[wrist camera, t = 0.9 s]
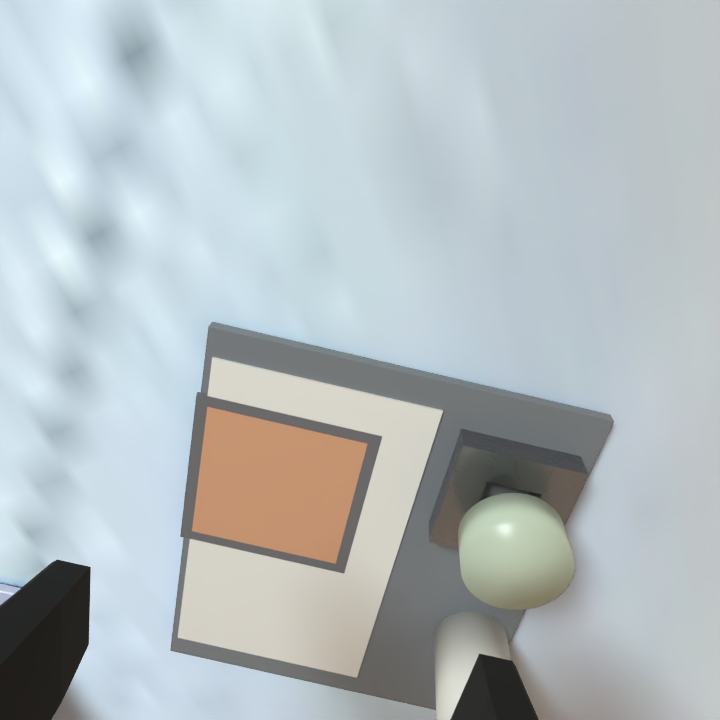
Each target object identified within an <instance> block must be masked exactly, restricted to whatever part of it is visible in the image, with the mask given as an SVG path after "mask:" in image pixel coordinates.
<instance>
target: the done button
mask: <svg viewBox="0 0 720 720" xmlns="http://www.w3.org/2000/svg"><path fill="white" fill-rule="evenodd" d="M458 545H459V557H460V568H461V576H462V579H463V582H464V584H465V585H466V587H467V589H468V590H469V591H470V592H471V593H472V594H473V595H474V596H475V597H476V598H478V599H479V600H481V601H483V602H485V603H486V604H489V605H491V606H494V607H498V608H502V609H510V610H523V609H530V608H535V607H538V606H542V605H544V604H546V603H549V602H551V601H552V600H554V599H556V598H557V597H558V596H560V595H561V594H562V593H563V592H564V591H565V590H566V589H567V587H568V586H569V584H570V583H571V581H572V579H573V576H574V572H575V560H574V556H573V553H572V550H571V547H570V544H569V541H568V537H567V534H566V531H565V528H564V525H563V522H562V519H561V517H560V515H559V514H558V513H557V511H556V510H555V509H554V508H553V507H552V506H551V505H549V504H548V503H547V502H545V501H543V500H541V499H539V498H537V497H535V496H531V495H527V494H522V493H504V494H498V495H494V496H491V497H488V498H486V499H484V500H482V501H480V502H478V503H477V504H475V505H474V506H473V507H471V508H470V509H469V510H468V511H467V513H466V514H465V515H464V517H463V518H462V520H461V522H460V525H459V528H458Z"/></svg>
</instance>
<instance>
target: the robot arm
mask: <svg viewBox="0 0 720 720" xmlns="http://www.w3.org/2000/svg"><path fill="white" fill-rule="evenodd" d="M89 606H90V567H88V566H83V565H79V564H74V563H70V562H65V561H61V560H56V561H54V562H52V563H51V564H50V565H48V566H47V567H46V568H45V569H44V570H42V571H41V572H40V573H39V574H38V575H36V576H35V577H34V578H33V579H32V580H30V581H29V582H28V583H27V584H26V585H24V586H23V587H22V588H18V587H14V586H9V585H5V584H0V720H51V719H52V717H53V716H54V714H55V712H56V710H57V709H58V707H59V705H60V704H61V702H62V700H63V698H64V696H65V694H66V691H67V689H68V687H69V685H70V683H71V681H72V679H73V677H74V675H75V673H76V670H77V668H78V666H79V664H80V662H81V660H82V657H83V655H84V653H85V651H86V649H87V647H88V644H89ZM450 720H539V719H538V717H537V715H536V713H535V710H534V708H533V706H532V704H531V701H530V699H529V697H528V694H527V692H526V690H525V687H524V685H523V683H522V680H521V678H520V676H519V673H518V671H517V669H516V666H515V665H514V663H513V662H512V661H511V660H506V659H502V658H497V657H493V656H488V655H484V654H479V655H478V658H477V660H476V662H475V665H474V667H473V669H472V671H471V674H470V676H469V678H468V681H467V683H466V685H465V687H464V690H463V692H462V694H461V697H460V699H459V701H458V703H457V706H456V708H455V710H454V713H453V715H452V717H451V719H450Z"/></svg>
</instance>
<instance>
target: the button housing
mask: <svg viewBox="0 0 720 720" xmlns="http://www.w3.org/2000/svg"><path fill="white" fill-rule="evenodd" d="M587 477H588V472H587V470H586V468H585V465H584V463H583V460H582V458H581V456H577V455H573V454H569V453H564V452H560V451H556V450H551V449H547V448H543V447H538V446H534V445H530V444H525V443H521V442H517V441H513V440H508V439H504V438H500V437H495V436H491V435H487V434H482V433H478V432H474V431H469V430H465V429H461V430H460V433H459V436H458V439H457V442H456V445H455V448H454V451H453V454H452V456H451V459H450V462H449V465H448V468H447V471H446V474H445V477H444V480H443V483H442V486H441V488H440V491H439V494H438V497H437V500H436V503H435V506H434V509H433V512H432V515H431V518H430V520H429V542H430V543H434V544H439V545H443V546H447V547H452V548H456V549H459V545H458V528H459V525H460V522H461V520H462V518H463V517H464V515H465V514H466V513H467V511H468V510H469V509H470V508H471V507H473V506H474V505H475V504H477V503H478V502H479V501H480V499H481V496H482V493H483V491H484V488H485V486H486V483H487V482H490V483H494V484H499V485H503V486H507V487H512V488H516V489H520V490H525V491H529V494H528V495H531V496H535V497H537V498H539V499H541V500H543V501H545V502H547V503H548V504H549V505H551V506H552V507H553V508H554V509H555V510H556V511H557V513H558V514H559V515H560V517H561V519H562V522H563V525H564V526H565V523H566V521H567V519H568V517H569V515H570V513H571V511H572V509H573V507H574V504H575V502H576V500H577V498H578V496H579V494H580V492H581V490H582V487H583V485H584V483H585V481H586V479H587Z"/></svg>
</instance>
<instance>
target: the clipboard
mask: <svg viewBox="0 0 720 720" xmlns="http://www.w3.org/2000/svg"><path fill="white" fill-rule="evenodd" d="M613 422H614V421H613V419H612V417H611V415H608V414H604V413H600V412H596V411H591V410H587V409H583V408H579V407H574V406H570V405H566V404H561V403H557V402H553V401H549V400H544V399H540V398H536V397H531V396H527V395H523V394H519V393H514V392H510V391H506V390H501V389H497V388H493V387H489V386H484V385H480V384H476V383H472V382H467V381H463V380H459V379H454V378H450V377H446V376H442V375H437V374H433V373H429V372H424V371H420V370H416V369H412V368H407V367H403V366H399V365H394V364H390V363H386V362H382V361H377V360H373V359H369V358H365V357H360V356H356V355H352V354H347V353H343V352H339V351H335V350H330V349H326V348H322V347H317V346H313V345H309V344H305V343H300V342H296V341H292V340H287V339H283V338H279V337H275V336H270V335H266V334H262V333H257V332H253V331H249V330H245V329H240V328H236V327H232V326H228V325H223V324H219V323H215V322H212V323H211V324H210V326H209V328H208V336H207V345H206V353H205V362H204V370H203V379H202V387H201V393H200V392H198V393H197V396H196V405H195V414H194V422H193V431H192V440H191V448H190V457H189V466H188V475H187V483H186V492H185V501H184V510H183V518H182V527H181V536H180V537H184V540H183V549H182V557H181V566H180V574H179V583H178V591H177V600H176V608H175V617H174V625H173V634H172V642H171V650H170V651H174V652H179V653H183V654H188V655H192V656H197V657H201V658H206V659H210V660H215V661H219V662H224V663H228V664H233V665H237V666H242V667H246V668H251V669H255V670H260V671H264V672H269V673H273V674H277V675H282V676H286V677H291V678H295V679H300V680H304V681H309V682H313V683H318V684H322V685H327V686H331V687H336V688H340V689H345V690H349V691H354V692H358V693H363V694H367V695H372V696H376V697H381V698H385V699H389V700H394V701H398V702H403V703H407V704H412V705H416V706H421V707H425V708H430V709H434V710H436V689H435V656H434V632H435V629H436V627H437V626H438V624H439V623H440V622H441V621H442V620H443V619H445V618H446V617H448V616H450V615H452V614H456V613H459V612H467V611H472V612H480V613H484V614H487V615H490V616H492V617H494V618H495V619H497V620H498V621H499V622H500V623H501V624H502V625H503V627H504V628H505V630H506V633H507V639H508V645H509V643H510V641H511V638H512V636H513V634H514V632H515V630H516V628H517V626H518V624H519V621H520V619H521V617H522V615H523V613H524V611H525V609H523V610H510V609H502V608H498V607H494V606H491V605H489V604H486V603H485V602H483V601H481V600H479V599H478V598H476V597H475V596H474V595H473V594H472V593H471V592H470V591H469V590H468V589H467V587H466V585H465V584H464V582H463V579H462V576H461V568H460V557H459V549H456V548H452V547H447V546H443V545H439V544H434V543H430V542H429V520H430V518H431V515H432V512H433V509H434V506H435V503H436V500H437V497H438V494H439V491H440V488H441V486H442V483H443V480H444V477H445V474H446V471H447V468H448V465H449V462H450V459H451V456H452V454H453V451H454V448H455V445H456V442H457V439H458V436H459V433H460V430H461V429H465V430H469V431H474V432H478V433H482V434H487V435H491V436H495V437H500V438H504V439H508V440H513V441H517V442H521V443H525V444H530V445H534V446H538V447H543V448H547V449H551V450H556V451H560V452H564V453H569V454H573V455H577V456H581V458H582V460H583V463H584V465H585V468H586V470H587V472H588V475H589V473H590V471H591V469H592V467H593V464H594V462H595V460H596V458H597V456H598V454H599V452H600V450H601V448H602V445H603V443H604V441H605V439H606V437H607V435H608V433H609V431H610V428H611V426H612V424H613ZM584 484H585V483H584ZM583 486H584V485H583ZM582 488H583V487H582ZM504 493H522V494H527V495H528V494H529V491H525V490H520V489H516V488H512V487H507V486H503V485H499V484H494V483H490V482H487V483H486V486H485V488H484V491H483V493H482V496H481V499H480V501H482V500H484V499H486V498H488V497H491V496H494V495H498V494H504ZM480 501H479V502H480ZM576 501H577V500H576ZM575 503H576V502H575ZM574 505H575V504H574ZM568 518H569V517H568ZM567 520H568V519H567ZM566 522H567V521H566ZM565 524H566V523H565Z"/></svg>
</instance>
